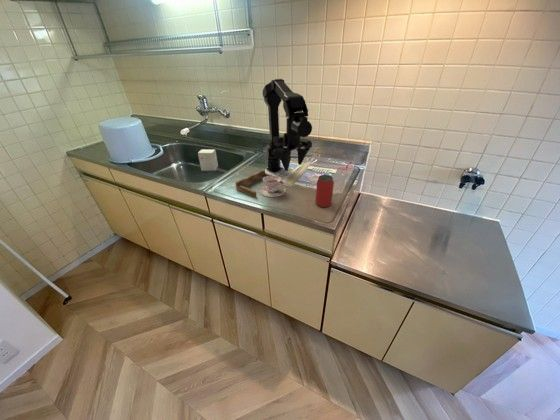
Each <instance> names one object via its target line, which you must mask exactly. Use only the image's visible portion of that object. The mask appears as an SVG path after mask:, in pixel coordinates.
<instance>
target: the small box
mask: <svg viewBox="0 0 560 420" xmlns="http://www.w3.org/2000/svg"><path fill="white" fill-rule="evenodd" d="M197 156H198V161H199V164H200V165H199V166H200V169H201V172H203V171H207V172H211V171H216V170H217V169H218V167H219V164H218V157H217V151H216V149H200V150H199V151H198V152H197Z"/></svg>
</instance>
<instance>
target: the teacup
mask: <svg viewBox="0 0 560 420" xmlns="http://www.w3.org/2000/svg"><path fill="white" fill-rule="evenodd" d="M281 179H282V178H281V177H280V176H277V175H272V176H266V177H262V181H263V183H264V184H265V185H264V186H262V187H261V188H259V193H260V195H262V196H264V197H267V198H268V197H269V198H277V197H281V196H284V194H285V193H286V187H283V188H284V190H283V192H282V193H277V191H278V190H279V189H281V188H282V186H283V183H284V182H283V181H282V182H280V181H281ZM279 185H280V186H279ZM264 188H265V189H266V190H264Z"/></svg>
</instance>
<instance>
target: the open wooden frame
mask: <svg viewBox="0 0 560 420" xmlns="http://www.w3.org/2000/svg"><path fill="white" fill-rule="evenodd" d="M266 176H273V175H272V174H269V173H267V172H266V170H265V169H261V170H260V171H257V172H255V173H252V174H250V175H247V176H245V177H243V178H241V179H238V180H237V181H235V190H237V191H238V192H241V193H243V194H245V195H248V196H250V197H251V198H257V191H255V190H253V189H250V188H249V187H248V186H250V185H252V184H254V183H255V182H257V181H259V180H260V179H263V178H264V177H266ZM280 182H283V181H282V178H281V181H280Z"/></svg>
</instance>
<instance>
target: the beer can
mask: <svg viewBox="0 0 560 420" xmlns="http://www.w3.org/2000/svg"><path fill="white" fill-rule="evenodd" d="M318 176H319V177H318V178H317V180H316V187H315V188H316V190H315V204H316V205H317V206H318V207H320V208H327V207H330V206H331V205H332V201H333V192H334V186H335V185H334V184H335V183H334V177H332V175H328V174H322V175H318Z"/></svg>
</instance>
